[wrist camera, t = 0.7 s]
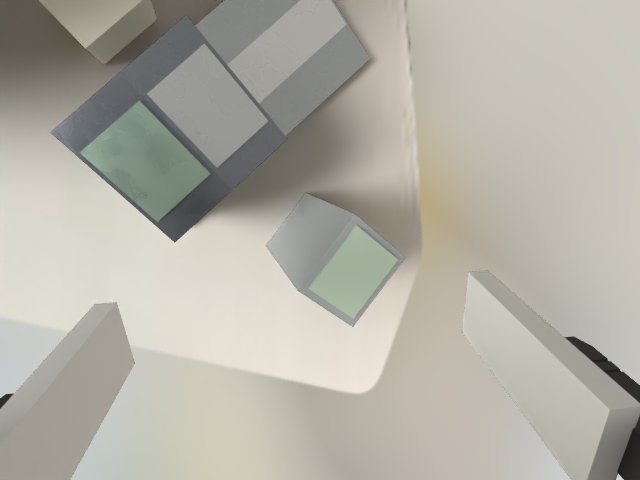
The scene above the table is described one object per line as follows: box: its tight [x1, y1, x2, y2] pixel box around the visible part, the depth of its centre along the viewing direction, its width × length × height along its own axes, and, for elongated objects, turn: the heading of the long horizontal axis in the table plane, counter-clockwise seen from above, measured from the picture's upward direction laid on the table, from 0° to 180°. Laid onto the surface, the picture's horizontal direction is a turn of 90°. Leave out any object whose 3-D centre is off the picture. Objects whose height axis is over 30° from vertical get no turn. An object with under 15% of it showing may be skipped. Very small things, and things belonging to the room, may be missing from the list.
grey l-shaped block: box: [51, 0, 370, 242], centre depth 25 cm, size 10×21×10 cm, turn 131°
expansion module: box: [266, 193, 406, 327], centre depth 29 cm, size 5×6×11 cm
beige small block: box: [38, 0, 157, 65], centre depth 23 cm, size 4×5×5 cm
